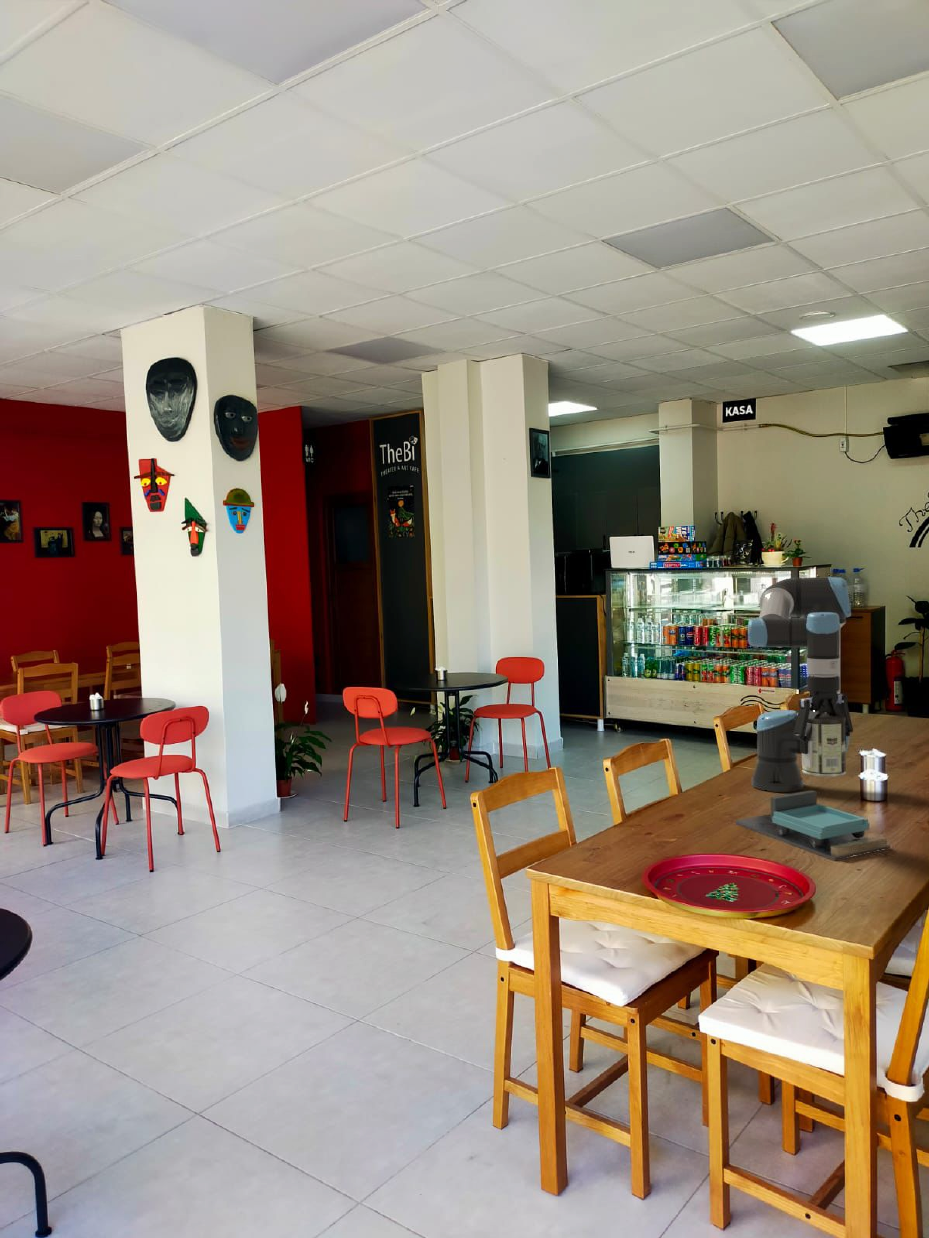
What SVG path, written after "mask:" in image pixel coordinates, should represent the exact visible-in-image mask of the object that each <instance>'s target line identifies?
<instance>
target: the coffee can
mask: <svg viewBox="0 0 929 1238" xmlns="http://www.w3.org/2000/svg"><path fill="white" fill-rule="evenodd" d="M845 721H846V717H845V716H843V715H840V716H831V715H828V714H827V713H822V715H821V716H820V717H819V718H818V719H811V718H808V722H807V724H812V735H811V737H810V740H809V741H812V768H809V767H805V766H802V765H801V767H802V768H801V769H802V770H801V772H802V773H803V774H805V775H808V776H813V777H822V778H835V777H842V776H845V775H846V774H847V771H846V768H847V767H846V763H847V762H846V761H847V759H846V758H847V757H846V756H847V755H846V753H847V752H846V748H845ZM805 736H806V734H805Z"/></svg>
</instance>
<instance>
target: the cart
mask: <svg viewBox="0 0 929 1238" xmlns="http://www.w3.org/2000/svg"><path fill="white" fill-rule="evenodd" d="M817 795H818V794H817V791H816V790H806V791H805V790H804V791H800V792H799V791H798V792H794V793H788V794H783V795H777V796H776V795H775V796H771V797H770V814H771V820H772V822H773V823H776V824H777V830H778V832H779V833H780V834H787V833H789V830H790V829H792V830H795V831H798V832H801V833H804V834H807V835H809V836H810V837H809V839H810V843H811V844H812V845H813V846H815V847H817V846H821V845H822V844H823V839H825V838H830V837H835V836H840V835H845V834H850V833H852V835H853V836H854V837H855V838H861V837H864V836H865V834H866V833H865V832H866V831H869V830H870V823H869V818H865V817H862V816H860V815H855V814H852V813H849V812H846V811H843V810H839V809H836V808H833V807H831V806H826V805H825V804H824V805H823V804H820V803H817V802H818V799H817V797H818V796H817Z"/></svg>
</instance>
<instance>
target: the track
mask: <svg viewBox="0 0 929 1238" xmlns="http://www.w3.org/2000/svg"><path fill="white" fill-rule="evenodd" d="M734 822H735V823H734V824H735V825H737V826H741V827H743V828H746V829H749V830H751V831H754V832H757V833H760V834H762V835H765V836H767V837H770V838H773V839H775V840H778V841H781V842H783V843H786V844H789V845H790V846H794V847H797V848H799V849H802V850H805V851H807V852H810V853H812V854H815V855H818V856H820V857H823V858H826V859H829V860H831V859H832V860H831V861H833V860H836V861H839V860H838V859H841V860H845V859H844V858H846V859H848V858H847V857H850V856H853V855H859V854H864V853H867V852H874V851H877V850H882V849H888V850H890V849H891V845H889V844H888V837H885V836H882V835H879V836H874V837H866V836H865V837H864V836H863V837H861V838H855V837H854V836H853V835H852V833H850V834H845V835H840V836H835V837H830V838H825V839H823V844H822V845H821V846H817V847H815V846H813V845H812V844H811V843H810V839H809V837H810V836H809V835H807V834H804V833H801V832H798V831H795V830H792V829H790V830H789V833H787V834H780V833H779V832H778V830H777V824H776V823H773V822H772V820H771V813H770V814H769V813H768V814H765V815H764V814H763V815H758V816H754V817H753V816H752V817H747V818H742V819H737V820H735V821H734ZM889 848H890V849H889ZM874 853H875V852H874ZM864 855H865V854H864ZM850 858H851V857H850Z"/></svg>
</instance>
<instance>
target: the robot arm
mask: <svg viewBox="0 0 929 1238" xmlns="http://www.w3.org/2000/svg"><path fill="white" fill-rule="evenodd" d="M847 584H848V583H847V581H846V580H845V579H844V578H843V577H834V576H833V577H832V576H820V577H818V576H817V577H790V578H786V579H781V580H779V581H777V582H775V583H773V584H772V585H770V586H768V587H767V588H766V589H764V590H763V592H762V594H761V595H760V598H759V609H760V613H759V616H758V617H755V618H750V619H749V620H748V623H747V641H748V644H749V646H751V647H758V648H759V647H760V648H806V652H807V655H806V673H807V674H808V675H807V676H806V689H807V691H808V692H809V694H808V697H806V698H802V697H799V698H798V711H796V710H793V709H792V710H791V709H790V710H789V709H783V710H782V709H781V710H773V711H767V712H765V713H762V714H760V715H759V716H758V718H757V719H756V721H757V722H756V724H757V725H756V735H757V740H756V746H757V748H756V751H757V752H756V753H757V754H756V755H757V758H756V760H757V761H756V764H755V768H754V772H753V774H752V776H751V786H752V787H753V788H755V789H758V790H762V791H765V790H767V792H773V793H791V792H799V791H801V790H803V789H804V779H803V777H802V774H801V770H800V767H799V764H798V755H801V767H802V766H805V767H809V768H812V741H809V740H810V737H811V735H812V724H807V722H808V718H811V719H818V718H819V717H820V716H821V715H822V713H827V714H828V715H831V716H840V715H843V716H845V717H846V721H845V748H846V753H847V752H848V748H849V743H850V737H851V733H853V732H854V727H853V723H852V719H851V715H850V710H849V706H848V700H849V698H848V695H847V694H843V693H841V628H842V627H843V626H844V625H845V624H846V623H847V618H849V617H851V616H852V612H851V611H852V610H851V603H850V595H849V591H848V585H847ZM805 734H806V736H805ZM798 790H799V791H798Z"/></svg>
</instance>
